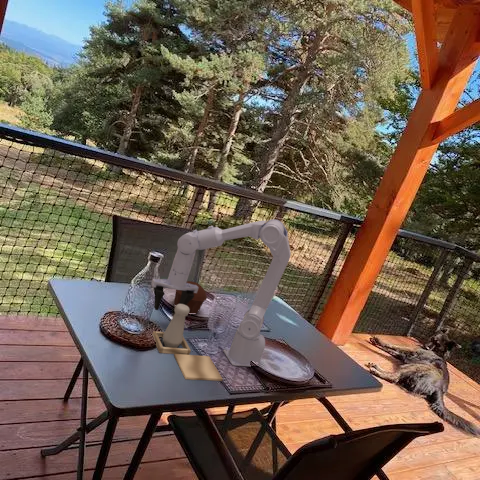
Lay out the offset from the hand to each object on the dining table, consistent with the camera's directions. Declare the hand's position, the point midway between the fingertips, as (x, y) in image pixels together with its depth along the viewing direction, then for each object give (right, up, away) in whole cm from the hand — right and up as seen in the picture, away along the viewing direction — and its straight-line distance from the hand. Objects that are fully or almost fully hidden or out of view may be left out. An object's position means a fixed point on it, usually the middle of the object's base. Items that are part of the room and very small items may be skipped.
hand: (167, 310), depth 142 cm
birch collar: (+2, -9, -7) cm, 12 cm away
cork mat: (+11, -14, -14) cm, 22 cm away
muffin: (+3, -3, +20) cm, 21 cm away
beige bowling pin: (+2, -9, -7) cm, 12 cm away
